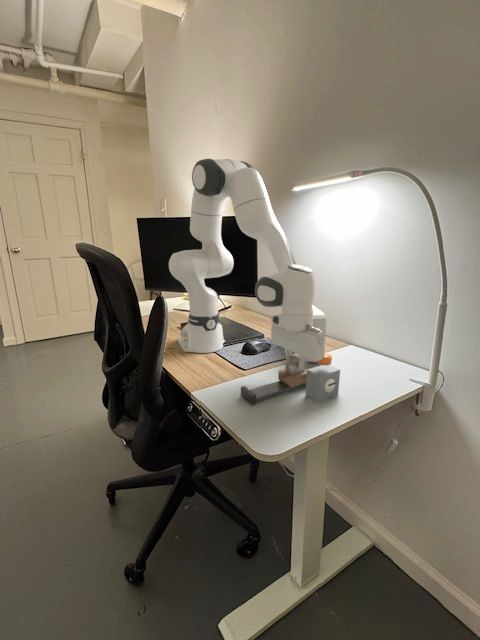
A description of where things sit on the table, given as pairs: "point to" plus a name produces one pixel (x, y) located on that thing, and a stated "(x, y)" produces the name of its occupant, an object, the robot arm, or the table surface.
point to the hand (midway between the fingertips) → (295, 365)
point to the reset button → (326, 360)
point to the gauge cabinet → (322, 382)
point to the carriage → (292, 372)
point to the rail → (267, 391)
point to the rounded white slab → (319, 322)
